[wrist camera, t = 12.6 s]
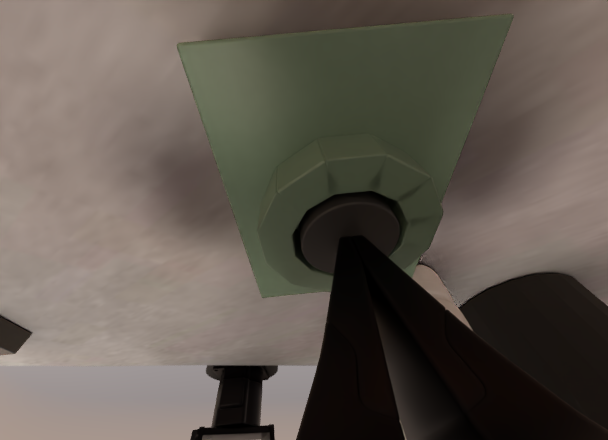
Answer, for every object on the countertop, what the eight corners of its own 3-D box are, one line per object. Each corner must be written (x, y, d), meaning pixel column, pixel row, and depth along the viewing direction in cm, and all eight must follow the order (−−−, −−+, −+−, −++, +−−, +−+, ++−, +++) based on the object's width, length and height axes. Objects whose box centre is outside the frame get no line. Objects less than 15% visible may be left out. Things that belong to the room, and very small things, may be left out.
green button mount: (396, 255, 15) (425, 311, 12) (264, 269, 15) (259, 329, 12) (464, 18, 8) (589, 5, 5) (199, 41, 7) (140, 45, 4)
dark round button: (377, 240, 11) (390, 269, 9) (301, 247, 11) (304, 278, 9) (390, 171, 8) (411, 197, 7) (294, 180, 8) (296, 208, 7)
